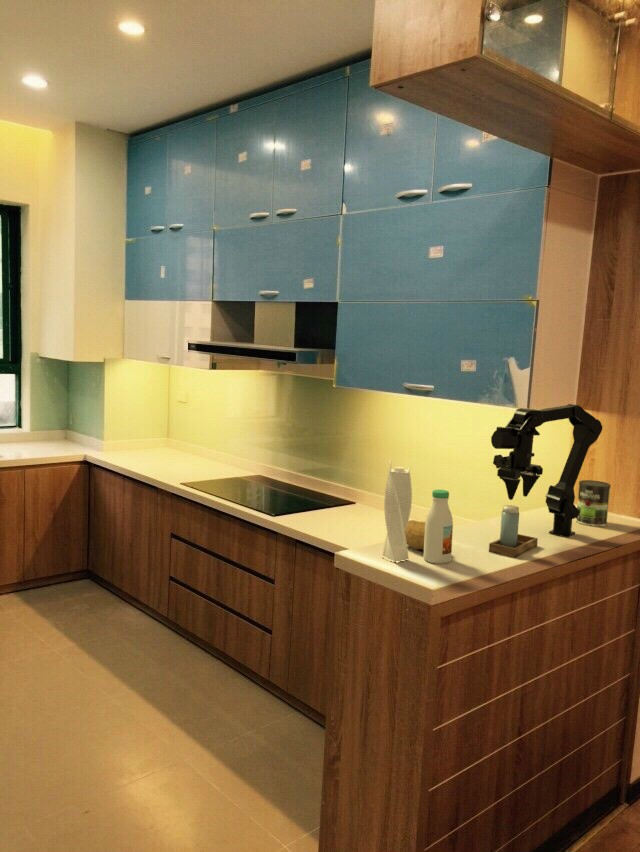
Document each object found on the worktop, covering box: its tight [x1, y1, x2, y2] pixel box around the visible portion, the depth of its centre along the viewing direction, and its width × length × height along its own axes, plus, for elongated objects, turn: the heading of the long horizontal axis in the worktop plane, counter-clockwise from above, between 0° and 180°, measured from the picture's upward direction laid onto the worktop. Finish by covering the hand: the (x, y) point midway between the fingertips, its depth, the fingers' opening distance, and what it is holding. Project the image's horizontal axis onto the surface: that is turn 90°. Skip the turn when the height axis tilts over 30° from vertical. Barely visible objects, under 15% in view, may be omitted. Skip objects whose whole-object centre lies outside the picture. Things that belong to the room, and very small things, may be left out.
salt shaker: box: [499, 504, 520, 548], centre depth 212 cm, size 5×5×13 cm
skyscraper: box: [382, 459, 413, 562], centre depth 201 cm, size 8×8×28 cm
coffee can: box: [575, 479, 612, 527], centre depth 249 cm, size 10×10×14 cm
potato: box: [405, 519, 426, 551], centre depth 213 cm, size 10×14×8 cm
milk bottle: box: [423, 489, 454, 565], centre depth 201 cm, size 8×8×20 cm
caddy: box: [488, 533, 538, 559], centre depth 216 cm, size 16×8×3 cm, turn 140°
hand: (517, 498), depth 226 cm, fingers open, 9 cm apart
